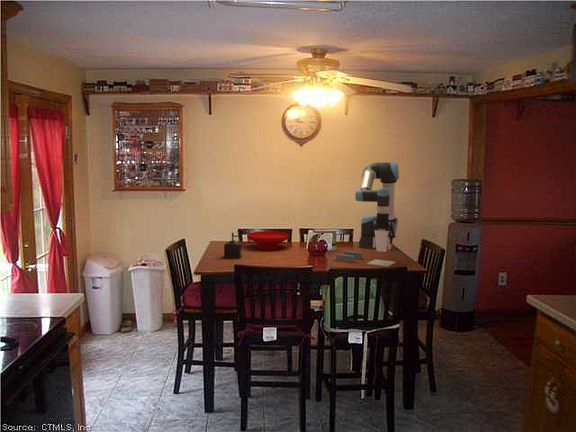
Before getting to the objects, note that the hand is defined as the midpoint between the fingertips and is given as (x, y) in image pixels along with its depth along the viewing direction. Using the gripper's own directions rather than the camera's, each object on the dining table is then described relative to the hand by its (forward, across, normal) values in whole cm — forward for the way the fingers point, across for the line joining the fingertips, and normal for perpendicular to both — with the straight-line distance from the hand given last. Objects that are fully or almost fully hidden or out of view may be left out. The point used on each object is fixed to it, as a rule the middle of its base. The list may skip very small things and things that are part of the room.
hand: (381, 248), depth 329 cm
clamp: (+10, -22, 0) cm, 24 cm away
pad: (+10, 0, 0) cm, 10 cm away
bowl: (+10, -90, +7) cm, 91 cm away
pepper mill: (+10, -91, -33) cm, 97 cm away
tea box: (+10, -52, +22) cm, 57 cm away
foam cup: (+2, 0, 0) cm, 2 cm away
